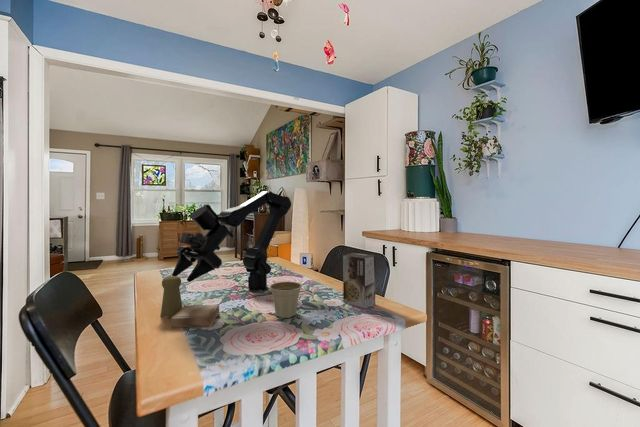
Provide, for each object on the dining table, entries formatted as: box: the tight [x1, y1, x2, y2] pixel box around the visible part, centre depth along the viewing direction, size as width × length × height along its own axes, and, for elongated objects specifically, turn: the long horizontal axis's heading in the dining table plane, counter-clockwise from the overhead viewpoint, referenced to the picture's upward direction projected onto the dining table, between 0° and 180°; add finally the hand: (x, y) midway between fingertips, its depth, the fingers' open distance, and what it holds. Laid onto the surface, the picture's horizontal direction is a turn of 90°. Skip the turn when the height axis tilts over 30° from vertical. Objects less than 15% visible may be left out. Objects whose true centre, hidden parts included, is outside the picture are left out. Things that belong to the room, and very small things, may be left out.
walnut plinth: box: [170, 304, 220, 329], centre depth 85 cm, size 10×10×3 cm
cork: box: [160, 275, 183, 318], centre depth 90 cm, size 6×6×11 cm
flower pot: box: [269, 281, 302, 319], centre depth 90 cm, size 9×9×9 cm
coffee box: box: [342, 252, 376, 309], centre depth 100 cm, size 9×6×16 cm
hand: (180, 278), depth 92 cm, fingers open, 9 cm apart
